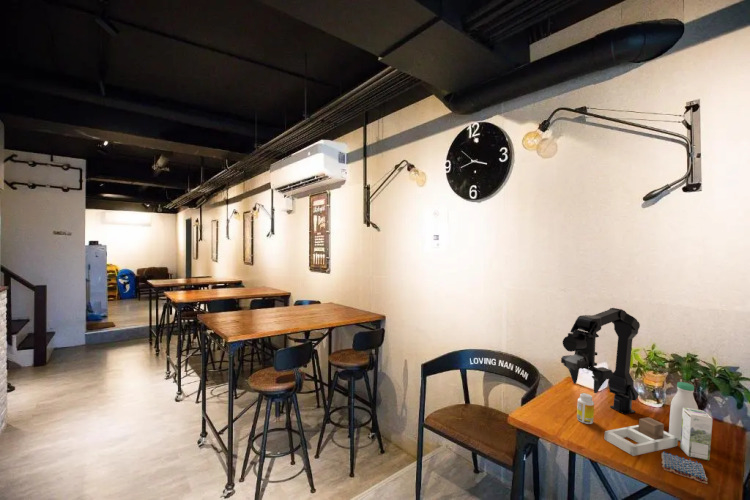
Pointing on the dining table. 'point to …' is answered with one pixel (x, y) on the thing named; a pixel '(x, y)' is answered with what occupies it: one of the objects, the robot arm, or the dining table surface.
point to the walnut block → (651, 428)
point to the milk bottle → (680, 407)
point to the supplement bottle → (585, 409)
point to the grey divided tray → (639, 440)
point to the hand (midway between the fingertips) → (584, 388)
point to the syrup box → (696, 433)
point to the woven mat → (684, 467)
